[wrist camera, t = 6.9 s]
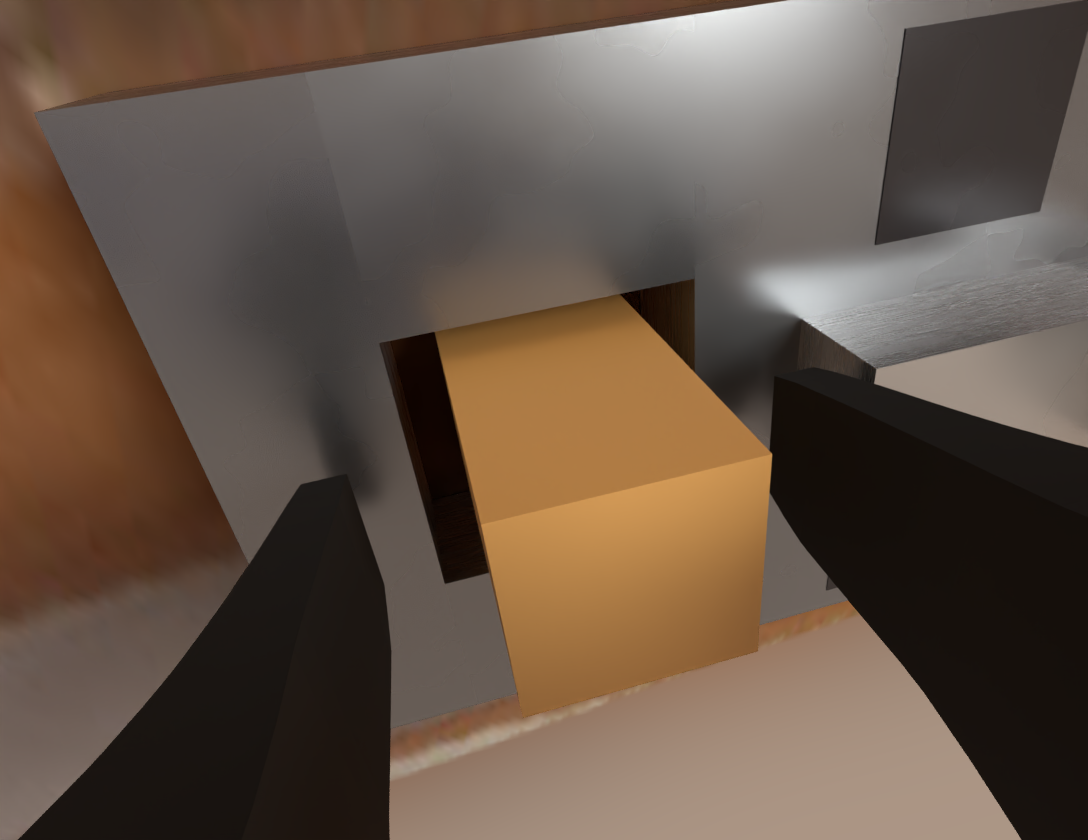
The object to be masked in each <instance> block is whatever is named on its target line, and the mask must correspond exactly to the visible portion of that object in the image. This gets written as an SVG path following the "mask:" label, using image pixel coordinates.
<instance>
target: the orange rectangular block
mask: <svg viewBox="0 0 1088 840" xmlns="http://www.w3.org/2000/svg"><path fill="white" fill-rule="evenodd" d="M434 333H435V337H436V342H437V346H438V351H439V355H440V360H441V364H442V369H443V373H444V378H445V382H446V387H447V391H448V396H449V400H450V405H451V410H452V414H453V419H454V423H455V428H456V432H457V437H458V441H459V446H460V450H461V454H462V459H463V463H464V467H465V472H466V476H467V480H468V484H469V489H470V493H471V497H472V502H473V506H474V510H475V514H476V519H477V523H478V527H479V532H480V536H481V540H482V544H483V549H484V553H485V557H486V562H487V566H488V570H489V575H490V579H491V583H492V587H493V592H494V596H495V600H496V605H497V609H498V613H499V617H500V622H501V626H502V630H503V635H504V639H505V643H506V647H507V652H508V656H509V660H510V665H511V669H512V673H513V677H514V682H515V686H516V690H517V695H518V699H519V703H520V707H521V712H522V716H523V718H525V717H528V716H532V715H535V714H539V713H543V712H546V711H550V710H553V709H557V708H560V707H564V706H567V705H571V704H574V703H578V702H581V701H585V700H588V699H592V698H595V697H599V696H602V695H606V694H609V693H613V692H616V691H620V690H623V689H627V688H630V687H634V686H637V685H641V684H645V683H648V682H652V681H655V680H659V679H662V678H666V677H669V676H673V675H676V674H680V673H683V672H687V671H690V670H694V669H697V668H701V667H704V666H708V665H711V664H715V663H718V662H722V661H725V660H729V659H732V658H736V657H739V656H743V655H747V654H750V653H754V652H757V651H758V640H759V626H760V613H761V599H762V586H763V572H764V559H765V545H766V532H767V518H768V505H769V491H770V478H771V464H772V453H771V452H770V451H769V450H768V449H767V448H766V447H765V446H764V445H763V444H762V443H761V442H760V441H759V440H758V439H757V437H756V436H755V435H754V434H753V433H752V432H751V431H750V430H749V429H748V428H747V427H746V426H745V425H744V424H743V423H742V422H741V421H740V420H739V419H738V418H737V417H736V415H735V414H734V413H733V412H732V411H731V410H730V409H729V408H728V407H727V406H726V405H725V404H724V403H723V402H722V401H721V400H720V399H719V398H718V397H717V396H716V395H715V393H714V392H713V391H712V390H711V389H710V388H709V387H708V386H707V385H706V384H705V383H704V382H703V381H702V380H701V379H700V378H699V377H698V376H697V375H696V374H695V373H694V371H693V370H692V369H691V368H690V367H689V366H688V365H687V364H686V363H685V362H684V361H683V360H682V359H681V358H680V357H679V356H678V355H677V354H676V353H675V352H674V350H673V349H672V348H671V347H670V346H669V345H668V344H667V343H666V342H665V341H664V340H663V339H662V338H661V337H660V336H659V335H658V334H657V333H656V332H655V331H654V330H653V328H652V327H651V326H650V325H649V324H648V323H647V322H646V321H645V320H644V319H643V318H642V317H641V316H640V315H639V314H638V313H637V312H636V311H635V310H634V309H633V308H632V306H631V305H630V304H629V303H628V302H627V301H626V300H625V299H624V298H623V297H622V296H621V295H620V294H617V295H612V296H607V297H602V298H597V299H592V300H587V301H582V302H578V303H573V304H568V305H563V306H558V307H553V308H548V309H543V310H538V311H534V312H529V313H524V314H519V315H514V316H509V317H504V318H499V319H494V320H489V321H485V322H480V323H475V324H470V325H465V326H460V327H455V328H450V329H445V330H441V331H436V332H434Z"/></svg>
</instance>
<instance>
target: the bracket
mask: <svg viewBox="0 0 1088 840" xmlns="http://www.w3.org/2000/svg"><path fill="white" fill-rule="evenodd" d="M811 367H815V368H820V369H825V370H829V371H833V372H837V373H840V374H844V375H848V376H851V377H854V378H858V379H861V380H864V381H867V382H871V383H874V384H877V385H880V386H883V387H886V388H889V389H892V390H896V391H899V392H902V393H905V394H908V395H911V396H914V397H917V398H920V399H923V400H926V401H930V402H933V403H936V404H939V405H942V406H945V407H948V408H951V409H955V410H958V411H961V412H964V413H967V414H971V415H974V416H977V417H980V418H984V419H987V420H990V421H994V422H997V423H1000V424H1004V425H1007V426H1010V427H1014V428H1017V429H1021V430H1025V431H1028V432H1032V433H1036V434H1039V435H1043V436H1046V437H1050V438H1054V439H1057V440H1061V441H1065V442H1068V443H1072V444H1076V445H1080V446H1084V447H1088V257H1083V258H1078V259H1074V260H1069V261H1065V262H1060V263H1055V264H1051V265H1046V266H1042V267H1037V268H1032V269H1028V270H1023V271H1019V272H1014V273H1009V274H1005V275H1000V276H996V277H991V278H987V279H982V280H977V281H973V282H968V283H964V284H959V285H954V286H950V287H945V288H941V289H936V290H931V291H927V292H922V293H918V294H913V295H908V296H904V297H899V298H895V299H890V300H885V301H881V302H876V303H872V304H867V305H862V306H858V307H853V308H849V309H844V310H840V311H835V312H830V313H826V314H821V315H817V316H812V317H807V318H803V319H802V321H801V332H800V343H799V355H798V366H797V371H798V370H802V369H807V368H811Z"/></svg>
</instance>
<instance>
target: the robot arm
mask: <svg viewBox="0 0 1088 840" xmlns="http://www.w3.org/2000/svg"><path fill="white" fill-rule="evenodd" d="M769 451H770V452H771V453H772V464H771V478H770V491H769V493H770V494H771V496H772V498H773V499H774V501H775V503H776V504H777V506H778V508H779V509H780V511H781V513H782V514H783V516H784V518H785V519H786V521H787V522H788V524H789V526H790V527H791V529H792V530H793V532H794V533H795V535H796V536H797V538H798V539H799V541H800V542H801V544H802V545H803V546H804V547H805V549H806V550H807V551H808V552H809V554H810V555H811V556H812V557H813V559H814V560H815V561H816V562H817V563H818V565H819V566H820V567H821V568H822V570H823V571H824V572H825V573H826V574H827V576H828V577H829V578H830V579H831V580H832V582H833V583H834V584H835V585H836V586H837V588H838V589H839V590H840V591H841V592H842V594H843V595H844V596H845V597H846V598H847V599H848V601H849V602H850V603H851V604H852V605H853V607H854V608H855V609H856V610H857V611H858V613H859V614H860V615H861V616H862V617H863V618H864V620H865V621H866V622H867V623H868V624H869V626H870V627H871V628H872V629H873V630H874V631H875V633H876V634H877V635H878V636H879V637H880V639H881V640H882V641H883V642H884V643H885V645H886V646H887V647H888V648H889V649H890V651H891V652H892V653H893V654H894V655H895V656H896V658H897V659H898V660H899V661H900V662H901V664H902V665H903V666H904V667H905V669H906V670H907V671H908V673H909V674H910V675H911V676H912V678H913V679H914V680H915V682H916V683H917V684H918V685H919V687H920V688H921V689H922V691H923V692H924V693H925V695H926V696H927V698H928V699H929V701H930V702H931V703H932V705H933V706H934V708H935V709H936V711H937V712H938V714H939V715H940V717H941V718H942V719H943V721H944V722H945V723H946V725H947V727H948V728H949V730H950V731H951V733H952V734H953V736H954V737H955V738H956V740H957V741H958V742H959V744H960V746H961V747H962V749H963V750H964V752H965V753H966V754H967V756H968V757H969V759H970V760H971V762H972V763H973V765H974V766H975V768H976V769H977V771H978V773H979V774H980V776H981V777H982V779H983V780H984V782H985V784H986V785H987V787H988V788H989V790H990V791H991V793H992V794H993V796H994V798H995V799H996V800H997V802H998V804H999V805H1000V807H1001V808H1002V810H1003V811H1004V813H1005V815H1006V816H1007V818H1008V819H1009V821H1010V822H1011V824H1012V825H1013V827H1014V828H1015V830H1016V831H1017V833H1018V835H1019V836H1020V838H1021V840H1088V447H1084V446H1080V445H1076V444H1072V443H1068V442H1065V441H1061V440H1057V439H1054V438H1050V437H1046V436H1043V435H1039V434H1036V433H1032V432H1028V431H1025V430H1021V429H1017V428H1014V427H1010V426H1007V425H1004V424H1000V423H997V422H994V421H990V420H987V419H984V418H980V417H977V416H974V415H971V414H967V413H964V412H961V411H958V410H955V409H951V408H948V407H945V406H942V405H939V404H936V403H933V402H930V401H926V400H923V399H920V398H917V397H914V396H911V395H908V394H905V393H902V392H899V391H896V390H892V389H889V388H886V387H883V386H880V385H877V384H874V383H871V382H867V381H864V380H861V379H858V378H854V377H851V376H848V375H844V374H840V373H837V372H833V371H829V370H825V369H820V368H815V367H811V368H807V369H802V370H798V371H794V372H789V373H785V374H780V375H776V376H774V390H773V404H772V419H771V434H770V448H769ZM391 655H392V651H391V641H390V630H389V620H388V612H387V603H386V594H385V585H384V582H383V579H382V576H381V573H380V570H379V567H378V564H377V561H376V558H375V555H374V552H373V549H372V546H371V543H370V540H369V538H368V535H367V532H366V529H365V526H364V523H363V520H362V517H361V514H360V511H359V508H358V505H357V502H356V499H355V496H354V493H353V490H352V487H351V484H350V481H349V479H348V476H347V474H343V475H339V476H334V477H330V478H326V479H321V480H317V481H312V482H308V483H304V484H300V486H299V487H298V489H297V490H296V492H295V493H294V495H293V496H292V498H291V499H290V501H289V502H288V504H287V505H286V507H285V508H284V510H283V512H282V513H281V515H280V516H279V518H278V520H277V521H276V523H275V524H274V526H273V528H272V529H271V531H270V532H269V534H268V536H267V537H266V539H265V540H264V542H263V543H262V545H261V547H260V548H259V550H258V551H257V553H256V554H255V556H254V558H253V559H252V561H251V562H250V564H249V565H248V567H247V568H246V570H245V571H244V573H243V574H242V575H241V577H240V578H239V580H238V581H237V583H236V584H235V586H234V587H233V589H232V590H231V592H230V593H229V595H228V596H227V598H226V599H225V601H224V602H223V604H222V605H221V607H220V608H219V609H218V611H217V612H216V614H215V615H214V616H213V618H212V619H211V620H210V622H209V623H208V624H207V626H206V627H205V628H204V630H203V631H202V633H201V634H200V635H199V637H198V638H197V639H196V641H195V642H194V643H193V645H192V646H191V647H190V649H189V650H188V651H187V653H186V654H185V655H184V657H183V658H182V659H181V661H180V662H179V663H178V665H177V666H176V667H175V669H174V670H173V671H172V672H171V674H170V675H169V676H168V677H167V679H166V680H165V681H164V682H163V683H162V685H161V686H160V687H159V688H158V689H157V691H156V692H155V693H154V694H153V695H152V697H151V698H150V699H149V700H148V701H147V703H146V704H145V705H144V706H143V707H142V709H141V710H140V711H139V712H138V713H137V714H136V715H135V716H134V718H133V719H132V720H131V721H130V722H129V723H128V724H127V726H126V727H125V728H124V729H123V730H122V731H121V732H120V734H119V735H118V736H117V737H116V738H115V739H114V740H113V741H112V743H111V744H110V745H109V746H108V747H107V748H106V749H105V751H104V752H103V753H102V754H101V755H100V756H99V757H98V758H97V759H96V760H95V761H94V763H93V764H92V765H91V766H90V767H89V768H88V769H87V770H86V771H85V772H84V773H83V774H82V775H81V776H80V777H79V778H78V779H77V780H76V781H75V782H74V783H73V784H72V785H71V786H70V787H69V788H68V789H67V790H66V791H65V792H64V794H63V795H62V796H61V797H60V798H59V799H58V800H57V801H56V802H55V803H54V804H53V805H52V806H51V807H50V808H49V809H48V810H47V811H46V812H45V813H44V814H43V815H42V816H41V817H40V818H39V819H38V820H37V821H36V822H35V823H34V824H33V825H32V826H31V827H30V828H29V829H28V830H27V831H26V832H25V833H24V834H23V835H22V836H21V837H20V838H19V839H18V840H390V838H389V786H390V731H391Z"/></svg>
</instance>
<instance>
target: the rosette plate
mask: <svg viewBox="0 0 1088 840" xmlns="http://www.w3.org/2000/svg"><path fill="white" fill-rule="evenodd" d="M34 114H35V116H36V118H37V120H38V122H39V124H40V127H41V129H42V131H43V133H44V135H45V137H46V139H47V141H48V143H49V145H50V148H51V150H52V152H53V154H54V156H55V158H56V160H57V162H58V164H59V166H60V169H61V171H62V173H63V175H64V177H65V179H66V181H67V183H68V185H69V188H70V190H71V192H72V194H73V196H74V198H75V200H76V202H77V204H78V206H79V209H80V211H81V213H82V215H83V217H84V219H85V221H86V223H87V225H88V227H89V230H90V232H91V234H92V236H93V238H94V240H95V242H96V244H97V246H98V248H99V251H100V253H101V255H102V257H103V259H104V261H105V263H106V265H107V267H108V269H109V272H110V274H111V276H112V278H113V280H114V282H115V284H116V286H117V288H118V290H119V293H120V295H121V297H122V299H123V301H124V303H125V305H126V307H127V309H128V312H129V314H130V316H131V318H132V320H133V322H134V324H135V326H136V328H137V330H138V333H139V335H140V337H141V339H142V341H143V343H144V345H145V347H146V349H147V351H148V354H149V356H150V358H151V360H152V362H153V364H154V366H155V368H156V370H157V372H158V375H159V377H160V379H161V381H162V383H163V385H164V387H165V389H166V391H167V393H168V396H169V398H170V400H171V402H172V404H173V406H174V408H175V410H176V412H177V415H178V417H179V419H180V421H181V423H182V425H183V427H184V429H185V431H186V433H187V436H188V438H189V440H190V442H191V444H192V446H193V448H194V450H195V452H196V454H197V457H198V459H199V461H200V463H201V465H202V467H203V469H204V471H205V473H206V475H207V478H208V480H209V482H210V484H211V486H212V488H213V490H214V492H215V494H216V496H217V499H218V501H219V503H220V505H221V507H222V509H223V511H224V513H225V515H226V517H227V520H228V522H229V524H230V526H231V528H232V530H233V532H234V534H235V536H236V539H237V541H238V543H239V545H240V547H241V549H242V551H243V553H244V555H245V557H246V560H247V562H248V564H250V562H251V561H252V559H253V558H254V556H255V554H256V553H257V551H258V550H259V548H260V547H261V545H262V543H263V542H264V540H265V539H266V537H267V536H268V534H269V532H270V531H271V529H272V528H273V526H274V524H275V523H276V521H277V520H278V518H279V516H280V515H281V513H282V512H283V510H284V508H285V507H286V505H287V504H288V502H289V501H290V499H291V498H292V496H293V495H294V493H295V492H296V490H297V489H298V487H299V486H300V484H304V483H308V482H312V481H317V480H321V479H326V478H330V477H334V476H339V475H343V474H347V476H348V479H349V481H350V484H351V487H352V490H353V493H354V496H355V499H356V502H357V505H358V508H359V511H360V514H361V517H362V520H363V523H364V526H365V529H366V532H367V535H368V538H369V540H370V543H371V546H372V549H373V552H374V555H375V558H376V561H377V564H378V567H379V570H380V573H381V576H382V579H383V582H384V585H385V594H386V603H387V612H388V620H389V630H390V641H391V651H392V655H391V728H395V727H398V726H402V725H406V724H409V723H413V722H416V721H420V720H423V719H427V718H431V717H434V716H438V715H441V714H445V713H448V712H452V711H455V710H459V709H463V708H466V707H470V706H473V705H477V704H480V703H484V702H487V701H491V700H495V699H498V698H502V697H505V696H509V695H512V694H516V693H517V690H516V686H515V682H514V677H513V673H512V669H511V665H510V660H509V656H508V652H507V647H506V643H505V639H504V635H503V630H502V626H501V622H500V617H499V613H498V609H497V605H496V600H495V596H494V592H493V587H492V583H491V579H490V575H489V570H488V566H487V562H486V557H485V553H484V549H483V544H482V540H481V536H480V532H479V527H478V523H477V519H476V514H475V510H474V506H473V502H472V497H471V493H470V491H468V492H463V493H459V494H455V495H451V496H447V497H442V498H438V499H434V500H432V497H431V494H430V490H429V486H428V482H427V478H426V475H425V471H424V467H423V463H422V459H421V456H420V452H419V448H418V444H417V440H416V437H415V433H414V429H413V425H412V421H411V418H410V414H409V410H408V406H407V402H406V399H405V395H404V391H403V387H402V383H401V380H400V376H399V372H398V368H397V364H396V361H395V357H394V353H393V349H392V345H391V342H390V341H392V340H397V339H401V338H406V337H411V336H416V335H421V334H426V333H431V332H436V331H441V330H445V329H450V328H455V327H460V326H465V325H470V324H475V323H480V322H485V321H489V320H494V319H499V318H504V317H509V316H514V315H519V314H524V313H529V312H534V311H538V310H543V309H548V308H553V307H558V306H563V305H568V304H573V303H578V302H582V301H587V300H592V299H597V298H602V297H607V296H612V295H617V294H622V293H626V292H631V291H636V290H640V309H641V317H642V318H643V319H644V320H645V321H646V322H647V323H648V324H649V325H650V326H651V327H652V328H653V330H654V331H655V332H656V333H657V334H658V335H659V336H660V337H661V338H662V339H663V340H664V341H665V342H666V343H667V344H668V345H669V346H670V347H671V348H672V349H673V350H674V352H675V353H676V354H677V355H678V356H679V357H680V358H681V359H682V360H683V361H684V362H685V363H686V364H687V365H688V366H689V367H690V368H691V369H692V370H693V371H694V373H695V374H696V375H697V376H698V377H699V378H700V379H701V380H702V381H703V382H704V383H705V384H706V385H707V386H708V387H709V388H710V389H711V390H712V391H713V392H714V393H715V395H716V396H717V397H718V398H719V399H720V400H721V401H722V402H723V403H724V404H725V405H726V406H727V407H728V408H729V409H730V410H731V411H732V412H733V413H734V414H735V415H736V417H737V418H738V419H739V420H740V421H741V422H742V423H743V424H744V425H745V426H746V427H747V428H748V429H749V430H750V431H751V432H752V433H753V434H754V435H755V436H756V437H757V439H758V440H759V441H760V442H761V443H762V444H763V445H764V446H765V447H766V448H767V449H768V450H769V448H770V434H771V419H772V404H773V390H774V376H776V375H780V374H785V373H789V372H794V371H797V366H798V355H799V343H800V332H801V321H802V319H803V318H807V317H812V316H817V315H821V314H826V313H830V312H835V311H840V310H844V309H849V308H853V307H858V306H862V305H867V304H872V303H876V302H881V301H885V300H890V299H895V298H899V297H904V296H908V295H913V294H918V293H922V292H927V291H931V290H936V289H941V288H945V287H950V286H954V285H959V284H964V283H968V282H973V281H977V280H982V279H987V278H991V277H996V276H1000V275H1005V274H1009V273H1014V272H1019V271H1023V270H1028V269H1032V268H1037V267H1042V266H1046V265H1051V264H1055V263H1060V262H1065V261H1069V260H1074V259H1078V258H1083V257H1088V0H733V1H726V2H719V3H712V4H705V5H699V6H692V7H685V8H678V9H671V10H665V11H658V12H651V13H644V14H637V15H631V16H624V17H617V18H610V19H604V20H597V21H590V22H583V23H576V24H570V25H563V26H556V27H549V28H542V29H536V30H529V31H522V32H515V33H508V34H502V35H495V36H488V37H481V38H474V39H468V40H461V41H454V42H447V43H441V44H434V45H427V46H420V47H413V48H407V49H400V50H393V51H386V52H379V53H373V54H366V55H359V56H352V57H345V58H339V59H332V60H325V61H318V62H311V63H305V64H298V65H291V66H284V67H278V68H271V69H264V70H257V71H250V72H244V73H237V74H230V75H223V76H216V77H210V78H203V79H196V80H189V81H182V82H176V83H169V84H162V85H155V86H148V87H142V88H135V89H128V90H121V91H115V92H108V93H104V94H100V95H97V96H93V97H89V98H86V99H82V100H78V101H75V102H71V103H67V104H64V105H60V106H57V107H53V108H49V109H46V110H42V111H38V112H35V113H34ZM847 600H848V599H847V598H846V597H845V596H844V595H843V594H842V592H841V591H840V590H839V589H838V588H837V586H836V585H835V584H834V583H833V582H832V580H831V579H830V578H829V577H828V576H827V574H826V573H825V572H824V571H823V570H822V568H821V567H820V566H819V565H818V563H817V562H816V561H815V560H814V559H813V557H812V556H811V555H810V554H809V552H808V551H807V550H806V549H805V547H804V546H803V545H802V544H801V542H800V541H799V539H798V538H797V536H796V535H795V533H794V532H793V530H792V529H791V527H790V526H789V524H788V522H787V521H786V519H785V518H784V516H783V514H782V513H781V511H780V509H779V508H778V506H777V504H776V503H775V501H774V499H773V498H772V496H771V494H770V493H769V505H768V518H767V532H766V545H765V559H764V572H763V586H762V599H761V613H760V625H762V624H765V623H769V622H772V621H776V620H779V619H783V618H787V617H790V616H794V615H797V614H801V613H804V612H808V611H811V610H815V609H819V608H822V607H826V606H829V605H833V604H836V603H840V602H844V601H847Z"/></svg>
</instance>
